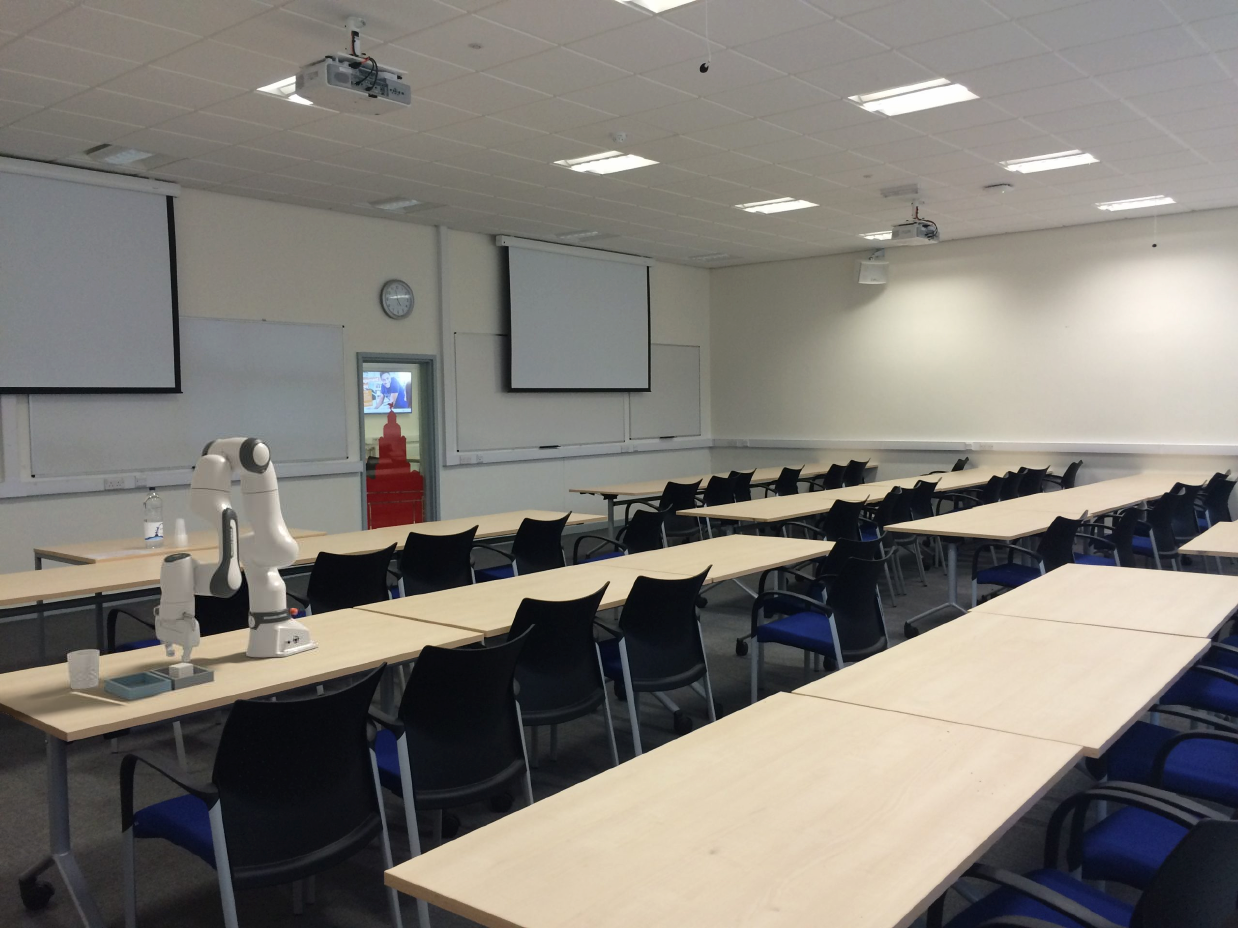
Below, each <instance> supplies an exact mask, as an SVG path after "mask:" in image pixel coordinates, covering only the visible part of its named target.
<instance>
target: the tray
mask: <svg viewBox="0 0 1238 928" xmlns="http://www.w3.org/2000/svg"><path fill="white" fill-rule="evenodd" d="M186 663H189V664H193V675H190V676H186V677H181V678H177V679H176V678H173V677H171V676H169V666H170V665H168V666H163V667H160V668H154V669H150V670H149V669H148V672H149V673H152V674H155V675H157V676H160V677H163V678H166V679H168V680H171V689H172V690H174V691H177V690H182V689H187V688H191V687H196V686H199V685H204V684H208V683H213V682H214V681H215V676H214V675H215V673H214V670H212V669H209V668H205V667H202V666H199V665H197V664H194V663H190V662H186Z"/></svg>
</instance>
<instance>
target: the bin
mask: <svg viewBox="0 0 1238 928" xmlns="http://www.w3.org/2000/svg"><path fill="white" fill-rule="evenodd" d="M172 690H173V689H171V680H168V679H166V678H163V677H160V676H157V675H155V674H152V673H149V671H146V670H145V671H141V672H136V673H131V674H126V675H122V676H116V677H112V678H108V679H107V678H106V679H104V691H106V692H108V693H110V694H113V695H115V696H117V697H120V698H123V699H125V700H126V701H127V700H128V701H129V702H131V701H134V700H139V699H143V698H147V697H153V696H155V695H157V696H158V695H161V694H165V693H169V692H172Z"/></svg>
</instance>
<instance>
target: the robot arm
mask: <svg viewBox="0 0 1238 928" xmlns="http://www.w3.org/2000/svg"><path fill="white" fill-rule="evenodd" d="M271 457H272V455H271V450H270V448H269V445H268V444H267V442H266V441H265V440H263V439H261V438H257V437H231V438H224V439H220V438H219V439H215V440H212V441H209V442H207V443H206V444H205V446H204V447H203V449H202V452H201V457H200V458H199V459H198V460H197V461H196V465H195V467H194V471H193V473H192V474H193V475H192V476H191V477H192V478H191V483H190V488H189V496H188V505H189V509H190V511H191V513H192V514H193V515H194V516H196V518H198V519H199V520H201V521H202V522H205V523H207V524H208V525H210V526H212V527H213V528H214V529H215V530H216V533H217V536H218V561H217V562H207V561H201V560H197V559H195V558H193V557H192V554H190V553H189V552H187V553H186V552H179V553H173V554H169V555H167V556H165V557H164V558H163V559H162V563H161V567H160V573H159V574H160V576H159V577H160V578H159V583H160V585H159V586H160V589H161V597H160V600H159V601H160V604H159V605H157V606H156V607H154V608H153V615H154V616H155V621H154V623H155V624H154V625H155V636H156V638H157V640H159V641H163V645H164V648H165V651H166V654H165V655H166V656H167V657H169V658H172V657H175V656H176V651H175V649H174V645H176V646H179V647H182V652H183V653H182V655H181V662H182V663H187V662H188V663H190V661H191V654H192V652H193V648H196V647H199V646H200V644H201V633H200V623H199V621H198V620H197V619H196V618H195V614H196V613H195V610H196V609H195V604H196V603H195V595H199V596H213V597H218V598H224V599H227V598H230V597H232V596H233V595H235V594H236V593H237V591H238V590H239V589H240V587H241V586H242V582H243V576H242V570H241V566H242V568H243V571H244V574H245V578H246V582H247V585H248V598H249V610H248V628H249V633H248V634H249V637H248V644H247V648H246V652H245V655H246V656H247V657H249V658H250V657H251V658H273V657H274V658H282V657H284V658H285V657H288V656H291V655H295V654H298V653H301V652H305V651H309V650H312V649H316V648H318V647H319V642H317V641H315V640H312V637H311V633H310V629H309V628H308V627H307V626H305V625H304V624H302V623H300V621H298V620H296V619H295V618H293V617H292V615H294V616H296V615H298V609H297V608H294V607H292V608H290V607H287V594H286V593H287V590H286V589H287V588H286V584H285V581H284V580H283V578H282V577H281V575H280V573H279V570H278V569H283V568H286V567H289V566H290V567H291V566H292V565H293V564H295V562H296V561H297V559H298V557H299V553H300V549H299V545H298V543H297V541H296V540H295V539H294V538H293V537H292V536H291V534H290V532H289V530H288V527H287V525H286V523H285V520H284V518H283V515H282V514H283V513H282V511H281V504H280V494H279V486H278V480H277V479H278V478H277V476H276V475H277V474H276V471H275V468H274V464H273V462H272V460H271ZM234 474H238V475H239V477H240V492H241V500H242V501H241V502H242V511H243V516H244V519H245V520H246V521H247V522H248V523H249V525H250V527H251V529H252V531H250V532H247V533H245V534H241V535H240V536H239V534H240V533H239V521H238V515H237V512H236V511H235V510H233V507H232V505H231V499H230V498H231V488H232V477H233V475H234ZM240 563H241V564H240Z"/></svg>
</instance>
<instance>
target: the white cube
mask: <svg viewBox="0 0 1238 928" xmlns="http://www.w3.org/2000/svg"><path fill="white" fill-rule="evenodd" d="M189 663H190V662H188V663H187V662H179V663H176V664H172V665H168V666H169V676H171V677H173V678H176V679H177V678H181V677H186V676H190V675H193V664H194V663H191V664H189Z"/></svg>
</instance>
